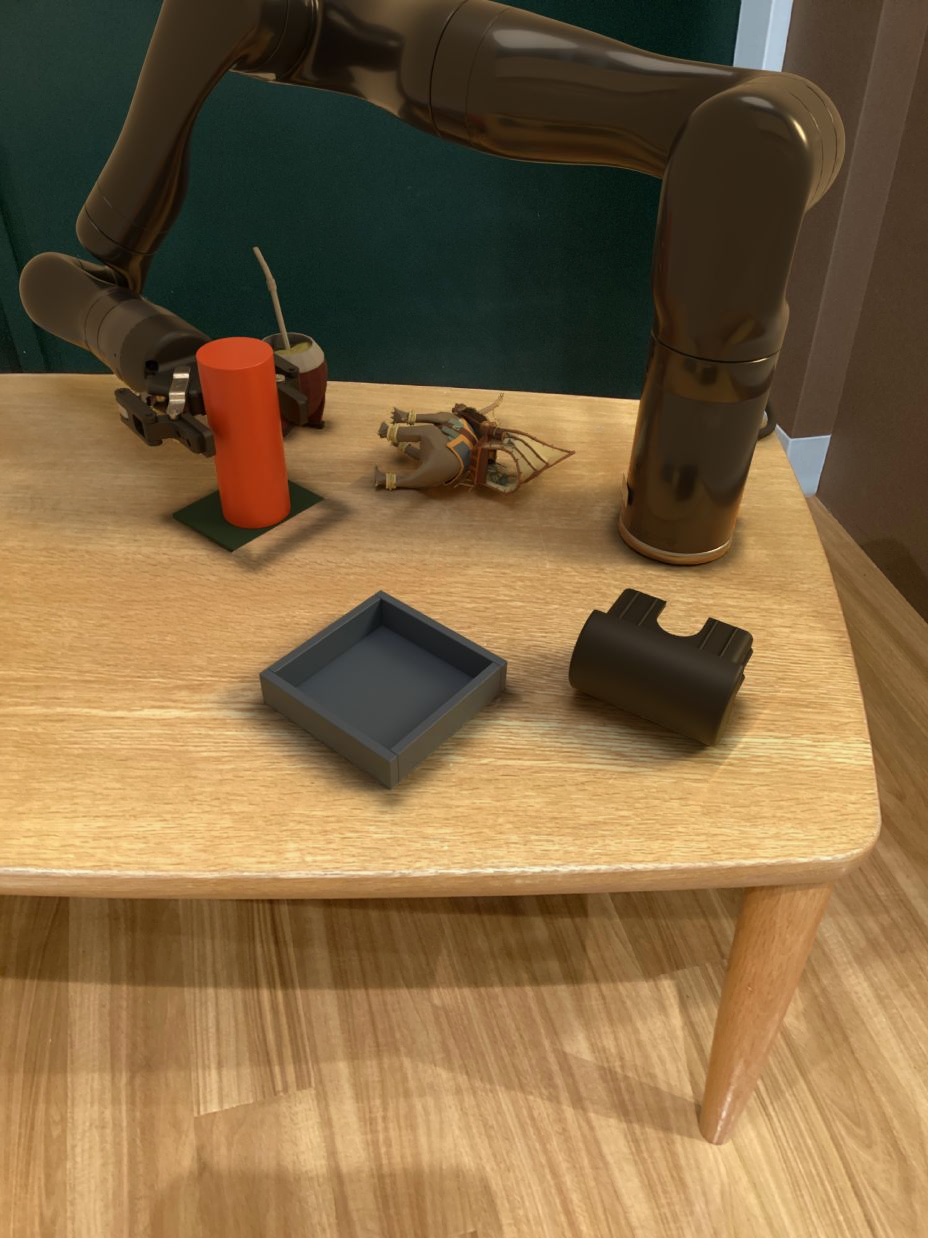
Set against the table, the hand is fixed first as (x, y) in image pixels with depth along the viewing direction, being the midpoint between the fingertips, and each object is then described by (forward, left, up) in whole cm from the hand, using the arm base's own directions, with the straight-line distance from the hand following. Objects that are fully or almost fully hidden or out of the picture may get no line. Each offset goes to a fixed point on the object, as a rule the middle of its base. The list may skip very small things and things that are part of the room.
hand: (258, 428), depth 71 cm
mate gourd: (-13, -12, -9) cm, 20 cm away
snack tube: (0, -2, -9) cm, 9 cm away
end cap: (-2, +35, -9) cm, 36 cm away
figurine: (-17, +8, -9) cm, 21 cm away
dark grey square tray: (+9, +21, -9) cm, 24 cm away
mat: (0, -2, -9) cm, 9 cm away
